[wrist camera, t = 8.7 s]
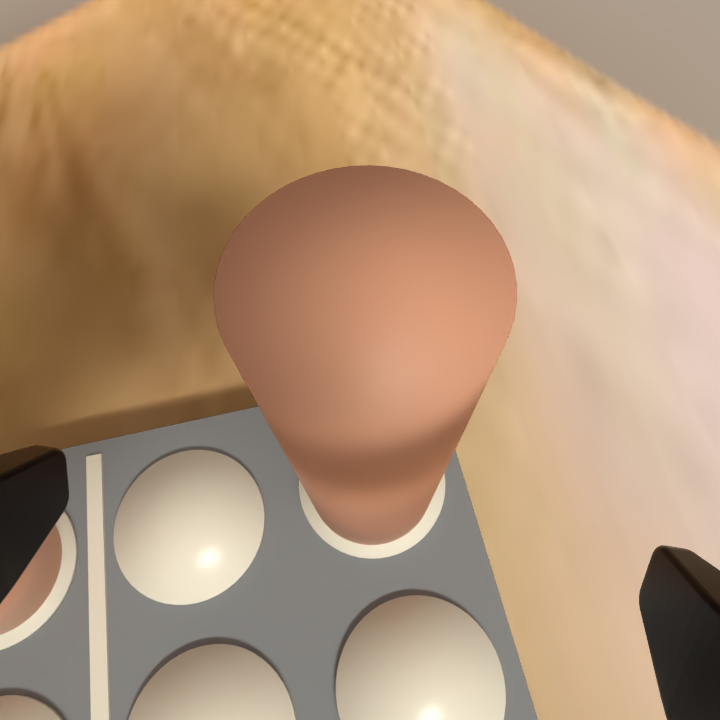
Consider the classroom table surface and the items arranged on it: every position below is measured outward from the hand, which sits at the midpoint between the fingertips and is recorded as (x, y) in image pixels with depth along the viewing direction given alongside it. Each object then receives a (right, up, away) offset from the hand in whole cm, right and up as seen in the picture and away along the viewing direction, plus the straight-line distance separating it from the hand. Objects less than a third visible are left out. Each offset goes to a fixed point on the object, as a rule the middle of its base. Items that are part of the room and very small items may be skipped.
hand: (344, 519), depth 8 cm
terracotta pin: (+1, -2, +10) cm, 10 cm away
